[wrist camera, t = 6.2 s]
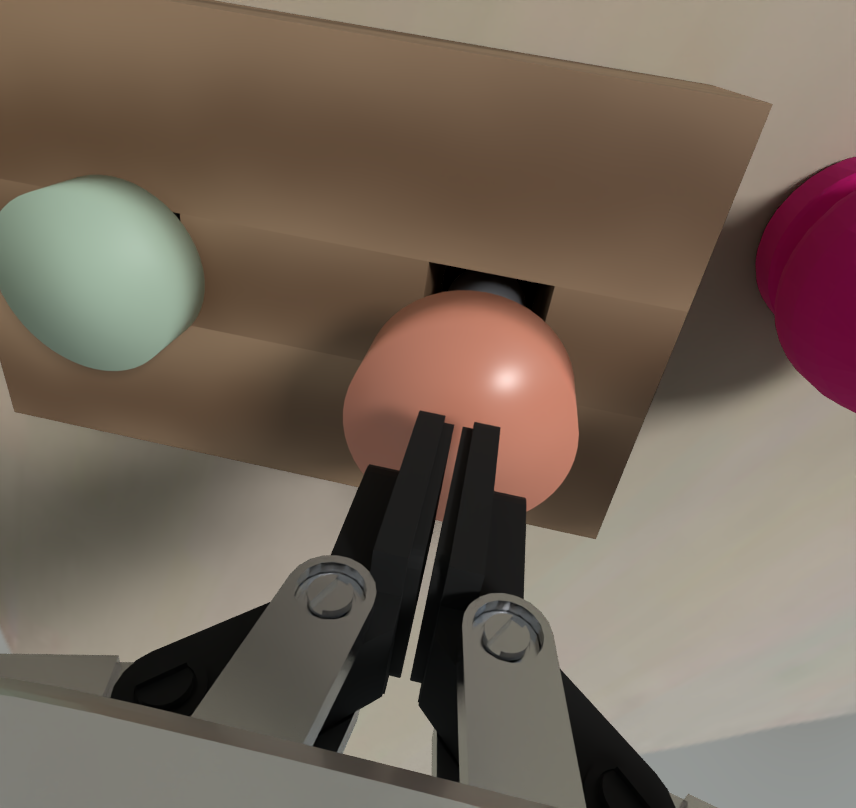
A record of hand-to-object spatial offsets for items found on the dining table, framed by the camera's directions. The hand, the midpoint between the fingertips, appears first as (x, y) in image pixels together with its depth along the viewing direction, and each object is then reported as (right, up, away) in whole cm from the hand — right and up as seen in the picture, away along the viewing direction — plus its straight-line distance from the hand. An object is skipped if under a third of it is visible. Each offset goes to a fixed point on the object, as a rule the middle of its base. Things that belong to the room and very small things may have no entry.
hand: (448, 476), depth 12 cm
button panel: (-3, +8, +11) cm, 14 cm away
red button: (+1, +5, +7) cm, 9 cm away
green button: (-9, +9, +10) cm, 16 cm away
